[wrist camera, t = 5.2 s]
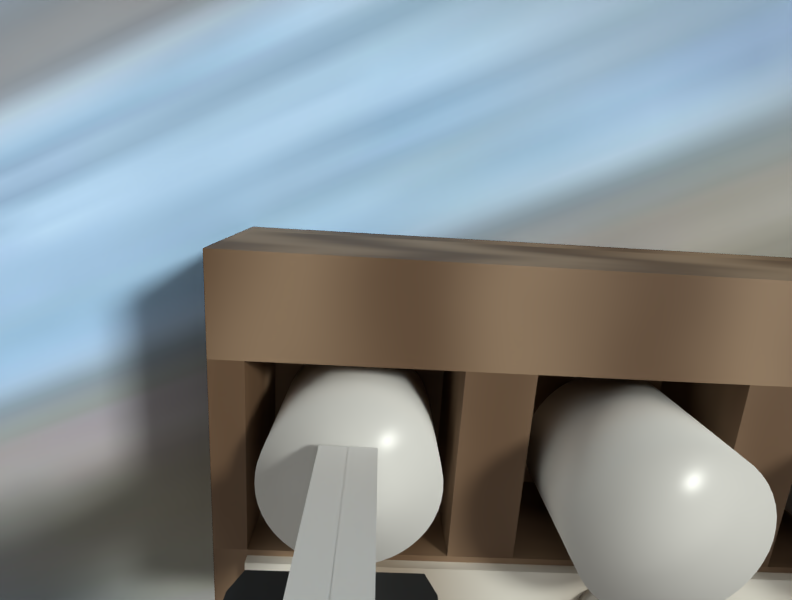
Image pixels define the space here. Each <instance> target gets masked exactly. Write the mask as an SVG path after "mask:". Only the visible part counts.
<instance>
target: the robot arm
mask: <svg viewBox="0 0 792 600" xmlns="http://www.w3.org/2000/svg"><path fill="white" fill-rule="evenodd" d="M377 464H378V448H373V447H348V446H323V445H319V447H318V451H317V455H316V459H315V464H314V468H313V472H312V477H311V481H310V485H309V490H308V494H307V498H306V503H305V507H304V511H303V516H302V520H301V524H300V528H299V533H298V537H297V541H296V546H295V550H294V554H293V559H292V563H291V567H290V571H266V570H245V571H244V572H243V573H242V574H241V575H240V576H239V577H238V578H237V580H236V581H235V582H234V583H233V584H232V585H231V586H230V588H229V589H228V590H227V591H226V593H225V596H224V599H223V600H438V595H437V594H436V592H435V590H434V589H433V587H432V585H431V584H430V582H429V580H428V579H427V577H426V575H425V574H421V573H388V572H376V520H377Z"/></svg>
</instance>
